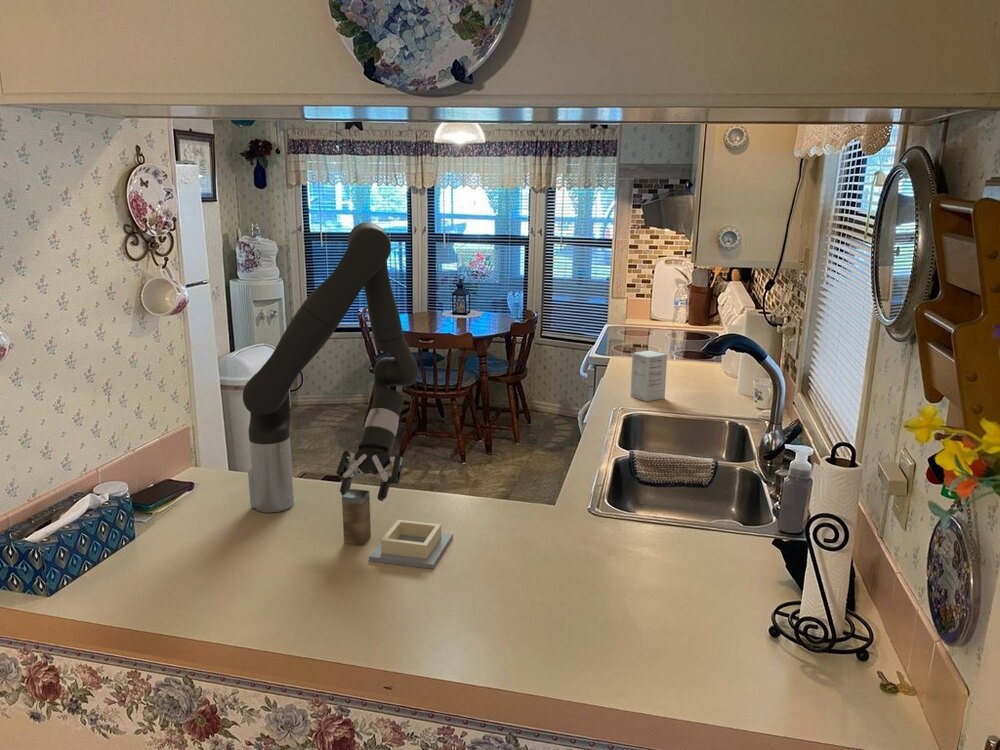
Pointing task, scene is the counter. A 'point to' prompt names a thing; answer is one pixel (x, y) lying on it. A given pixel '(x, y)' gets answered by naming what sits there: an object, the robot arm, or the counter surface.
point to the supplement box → (648, 375)
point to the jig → (412, 544)
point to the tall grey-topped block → (356, 517)
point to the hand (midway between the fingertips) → (362, 497)
